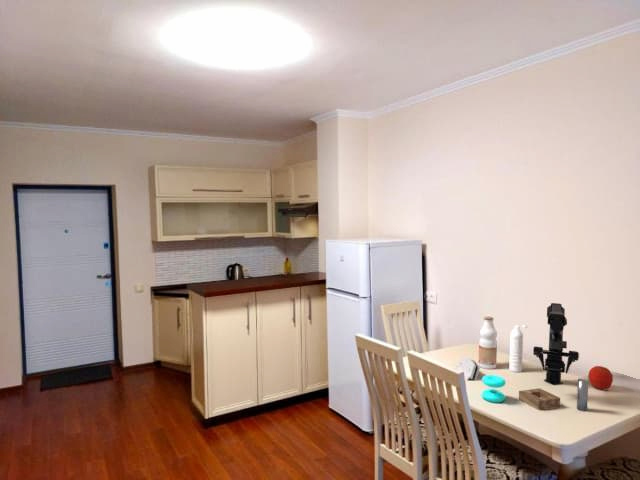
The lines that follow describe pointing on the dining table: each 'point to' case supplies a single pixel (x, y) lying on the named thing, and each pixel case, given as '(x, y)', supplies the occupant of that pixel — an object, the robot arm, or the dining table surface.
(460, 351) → the dining table surface
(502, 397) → the donuts
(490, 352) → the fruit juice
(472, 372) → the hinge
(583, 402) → the steel pin
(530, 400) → the block
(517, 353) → the water bottle
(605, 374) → the apple
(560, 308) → the robot arm
